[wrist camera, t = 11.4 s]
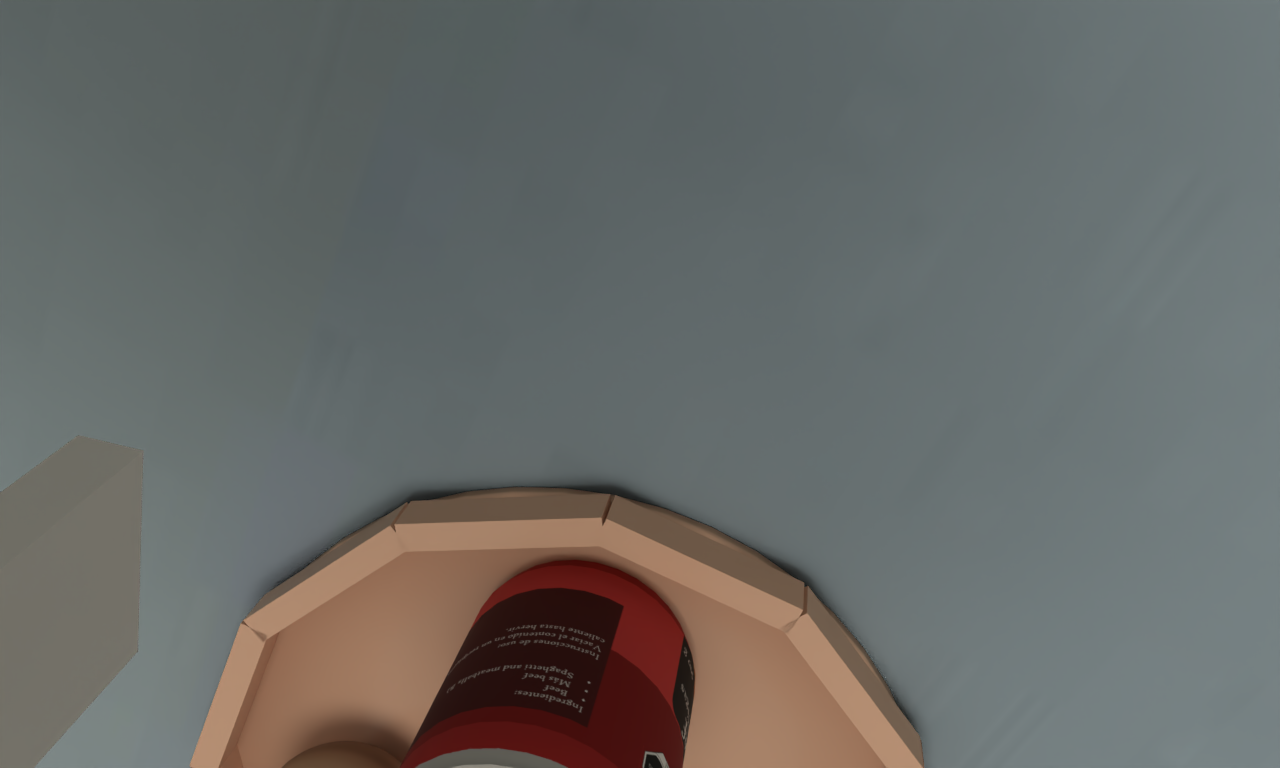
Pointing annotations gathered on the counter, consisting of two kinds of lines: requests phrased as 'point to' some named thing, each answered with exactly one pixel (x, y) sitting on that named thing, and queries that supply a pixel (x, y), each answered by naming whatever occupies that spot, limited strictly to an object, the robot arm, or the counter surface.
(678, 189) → the counter surface
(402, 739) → the tray
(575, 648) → the canned food
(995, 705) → the counter surface
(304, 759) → the seated beads
